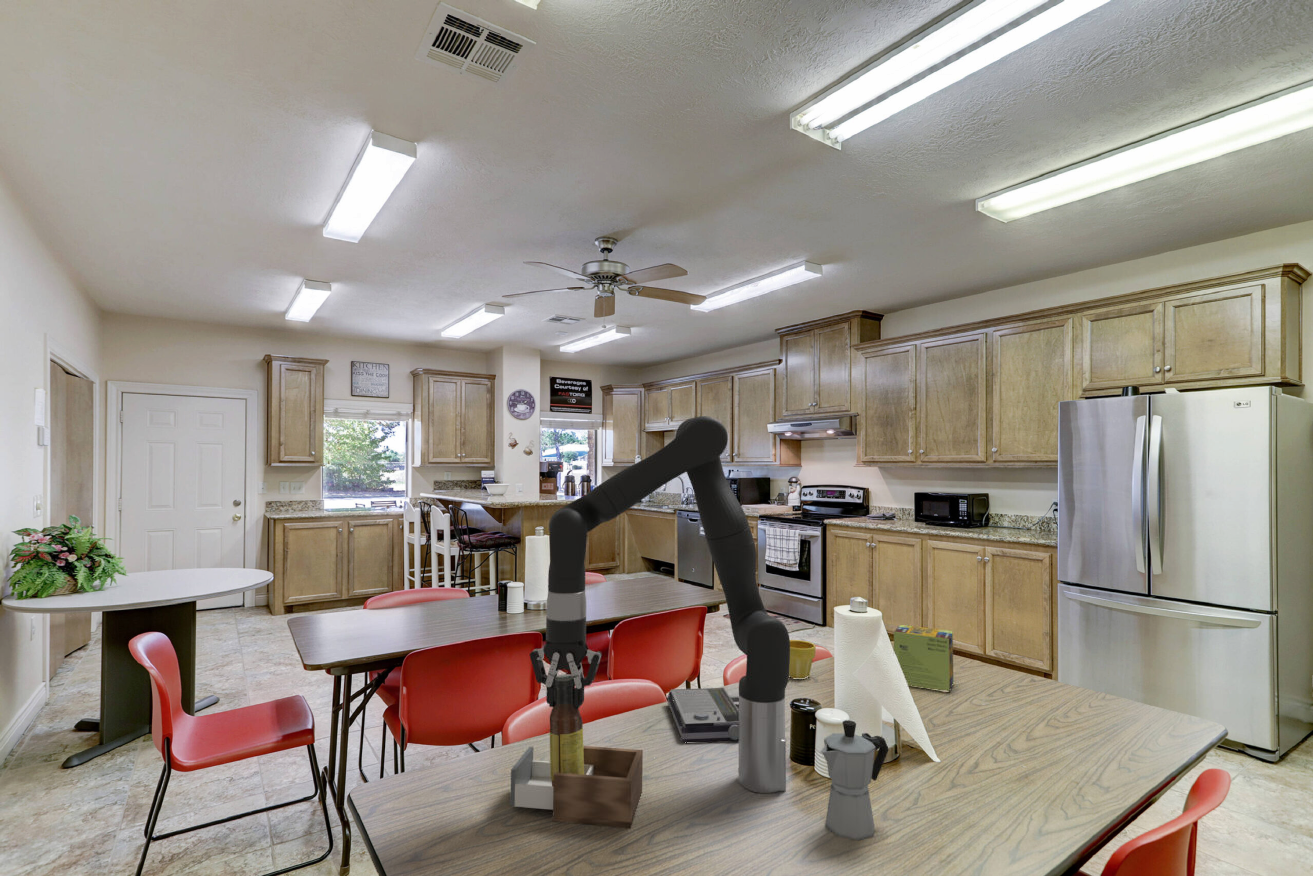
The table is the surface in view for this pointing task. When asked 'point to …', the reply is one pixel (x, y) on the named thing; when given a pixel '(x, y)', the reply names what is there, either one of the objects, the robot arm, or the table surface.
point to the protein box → (925, 656)
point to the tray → (534, 782)
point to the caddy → (601, 789)
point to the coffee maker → (852, 780)
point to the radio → (705, 714)
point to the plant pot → (801, 658)
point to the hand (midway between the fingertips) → (565, 706)
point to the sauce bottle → (565, 730)
